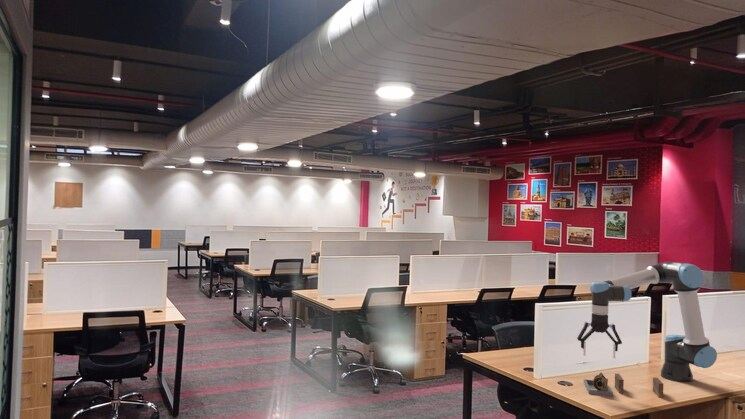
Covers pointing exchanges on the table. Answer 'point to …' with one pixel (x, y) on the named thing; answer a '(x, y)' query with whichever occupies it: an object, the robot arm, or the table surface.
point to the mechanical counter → (600, 382)
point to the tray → (590, 386)
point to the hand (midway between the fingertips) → (598, 356)
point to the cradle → (656, 385)
